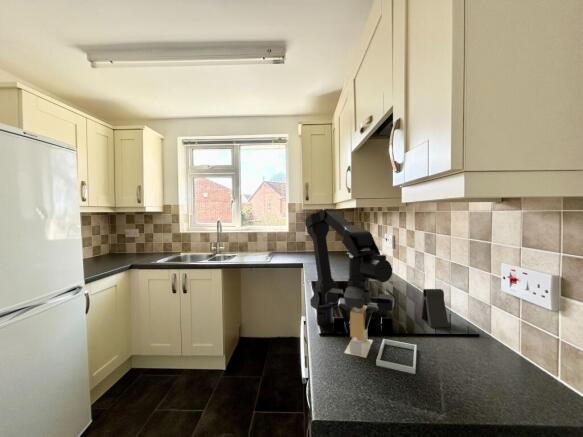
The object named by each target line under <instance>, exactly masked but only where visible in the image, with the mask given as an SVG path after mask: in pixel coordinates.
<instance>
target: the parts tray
mask: <svg viewBox="0 0 583 437" xmlns="http://www.w3.org/2000/svg"><path fill="white" fill-rule="evenodd" d="M385 345H387V346H392V347H396V348H397V347H398V348H403V349H407V350H408V349H409V350H413V362H412V364H413V365H412V366H408V365H404V364H399V363H397V362H396V363H395V362H391V361H386V360H381V357H382V354H383V350H384V348H385ZM377 353H378V355H377V357H376V360H375V361H376V362H375V364H376V366H377V367H381V368H386V369H391V370H396V371H400V372H405V373H408V374H414V375H415V374H416V370H417V368H416V367H417V366H416V365H417V344H414V343H413V344H412V343H407V342H401V341H398V340H397V341H396V340H391V339H385V338H383V339H382V342H381V344H380V347H379V350H378V352H377Z"/></svg>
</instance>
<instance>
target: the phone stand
mask: <svg viewBox="0 0 583 437" xmlns="http://www.w3.org/2000/svg"><path fill="white" fill-rule="evenodd" d="M419 311H420V312H419V315H418V316H419V317H418V318H419V319H420V320H421V321H422V322H423V323H424V324H426V325H427V326H428V327H429V328H431V329H437V328H438V329H439V328H441V329H444V328H445V329H448V328H449V327H450V326H449V325H450V324H449V320H448V315H447V308H446V304H445V291H444V289H441V288H424V289H423V290H422V300H421V307H420V310H419Z"/></svg>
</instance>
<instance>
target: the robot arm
mask: <svg viewBox="0 0 583 437" xmlns="http://www.w3.org/2000/svg"><path fill="white" fill-rule="evenodd" d="M304 225H305V227H306V232H307V234H308V235H309V237H310V238H311V239H312V241H313V242H312V244H313V245H312V246H313V251H314V259H315V265H316V274H317V280H316V283H315V285H314V294H312V297H311V298H310V306H311V307H312V308H313V309H315V310H316V312H315V313H316V314H315V315H316V324H317V326H320V327H321V326H323V327H325V326H329V325H331V324H333V308H336V307H341V308H342V309H343V310H344V312H345V315H347V319H348V321H349V323H350V311H351V310H352V309H353V307H355V308H358V309H361V308H363V305H366V304H367V305H366V306H367V308H366V319H365V330H367V327H369V324H370V321H371V317H372V316H373V312H374V313H375V312H378V310H382V311H387V312H388V311H389V312H391V311H393V310H394V308H395V297H394V296H393V295H392V294H387V293H385V294H384V293H379V294H378V296H372V291H371V289H370V279H371V280H373V281H377V282H378V283H386V282H388V281H389V280H390V279H391V277H392V276H393V267H392V264H391V262H390V261H388V260H387V255H386V254H381V252H380V248H379V247H378V246H377V244H376V241H375V239H374V238H373V234H372V233H371V231H369V230H367V229H365V228H363V227H360V226H356V225H353V224H352V223H351V222H349V221H348V220H347V219H346V218H344V217H343V216H342V215H341V214H339V213H338V212H337V210H336V209H334V208H322V209H320V210H319V211H316V212H313V213H312V214H309V215H308V216H307V217H306V218H305V220H304ZM330 227H331V229H333V230H334V231H335V232H336V233H337V234H338V235H339V236H340V237H341V238H342V239H341V242H342V244H343V246H345V248H346V250H347V252H346V253H344V257H345V258H348V279H347V286H346V288H345V291H344V290H343V289H341V288H339V287H340V286H339V285H340V284H339V283H338V281H335V280H334V279H333V277H332V270H331V263H330V256H329V250H328V249H329V247H328V242H327V241H328V240H327V235H328V234H329V232H330ZM339 299H340V303H339ZM338 303H339V306H338ZM367 331H368V330H367Z"/></svg>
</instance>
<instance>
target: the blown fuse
mask: <svg viewBox="0 0 583 437" xmlns="http://www.w3.org/2000/svg"><path fill="white" fill-rule="evenodd" d="M367 306H368V305H366V304H363V308H361V309H358V308H355V307H353V309H352V310H351V311H350V322H349V325H350V326H349V327H350V328H349V330H350V332H349V337H350V338H353V337H355V338H360V339H363V338H364V336H365V334H366V332H367V333H368V329H369V328H368V327H369V326H368V327H367V330H365V319H366V308H367Z"/></svg>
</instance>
